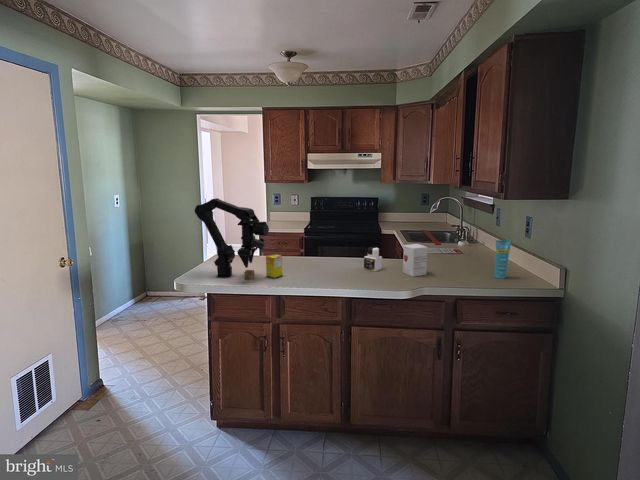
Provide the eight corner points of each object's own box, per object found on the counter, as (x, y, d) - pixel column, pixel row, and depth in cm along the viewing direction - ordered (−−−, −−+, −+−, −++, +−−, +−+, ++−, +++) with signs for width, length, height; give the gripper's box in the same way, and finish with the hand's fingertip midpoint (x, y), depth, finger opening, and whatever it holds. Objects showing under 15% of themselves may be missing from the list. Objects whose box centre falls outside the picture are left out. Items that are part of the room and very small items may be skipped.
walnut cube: (244, 279, 205) (244, 272, 204) (246, 277, 209) (246, 269, 208) (252, 279, 204) (252, 272, 204) (254, 277, 208) (254, 270, 208)
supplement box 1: (274, 274, 214) (274, 253, 212) (282, 276, 210) (282, 255, 208) (266, 276, 209) (265, 256, 207) (274, 279, 206) (273, 257, 203)
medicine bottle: (363, 269, 223) (363, 247, 221) (371, 266, 228) (371, 245, 226) (374, 271, 218) (374, 249, 216) (382, 269, 223) (382, 247, 221)
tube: (495, 279, 204) (498, 241, 200) (490, 276, 209) (493, 239, 205) (509, 278, 204) (513, 241, 201) (505, 276, 209) (508, 239, 205)
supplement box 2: (402, 272, 216) (403, 244, 213) (416, 270, 220) (417, 243, 217) (412, 277, 208) (413, 248, 205) (426, 275, 212) (428, 246, 209)
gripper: (260, 238, 193) (260, 270, 196) (267, 231, 211) (268, 260, 214) (236, 237, 193) (237, 270, 196) (246, 231, 211) (247, 260, 215)
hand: (248, 265), depth 205 cm, fingers open, 9 cm apart
